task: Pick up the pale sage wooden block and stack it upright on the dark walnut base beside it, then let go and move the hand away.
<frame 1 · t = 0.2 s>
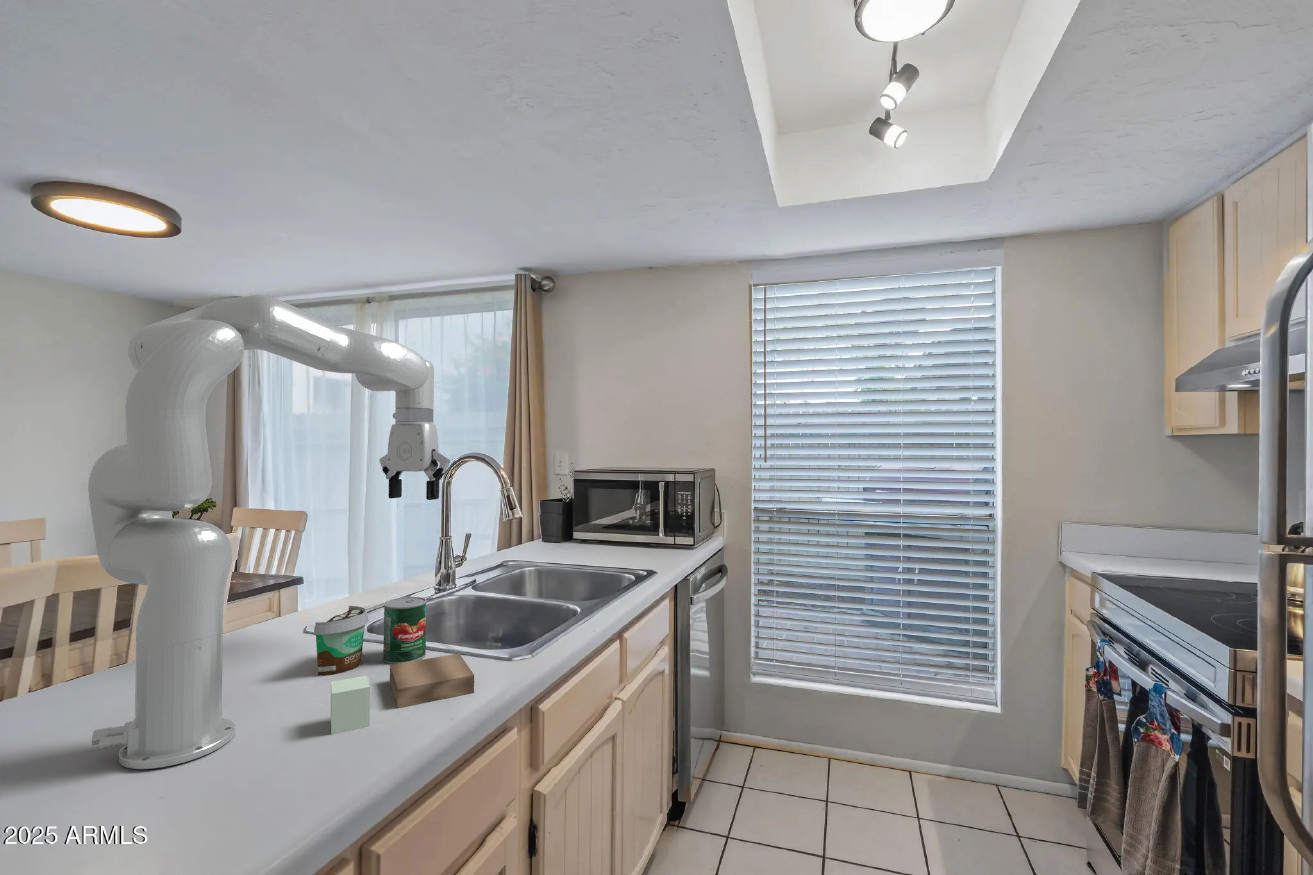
hand: (413, 498, 125), 31 cm above the counter, tool pointing down, fingers open, 9 cm apart
sage block: (349, 723, 90), on the counter
walnut base: (431, 687, 103), on the counter
food container: (348, 667, 113), on the counter
canned tomato: (404, 658, 118), on the counter
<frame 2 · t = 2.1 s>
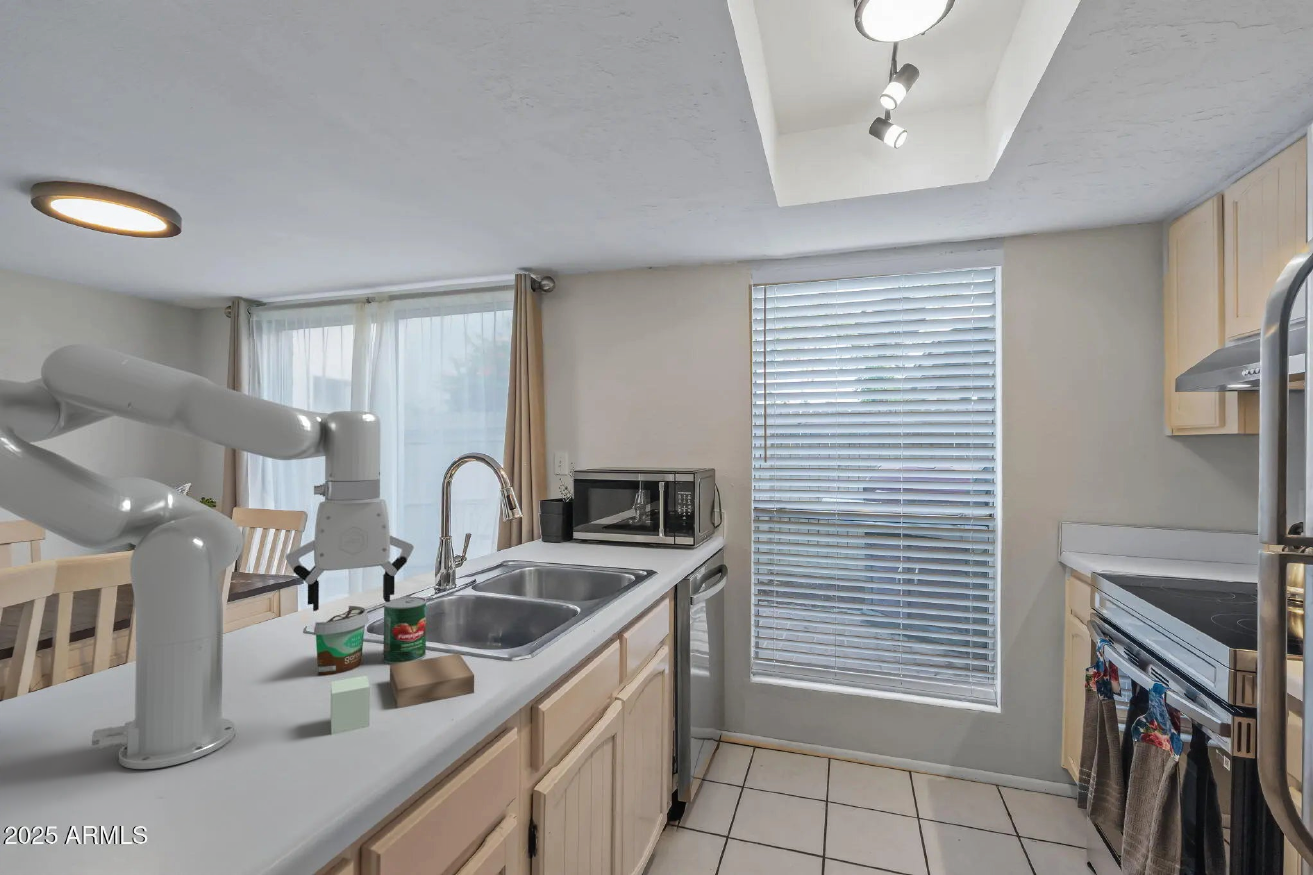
hand: (352, 604, 90), 18 cm above the counter, tool pointing down, fingers open, 9 cm apart
nothing on the counter moved.
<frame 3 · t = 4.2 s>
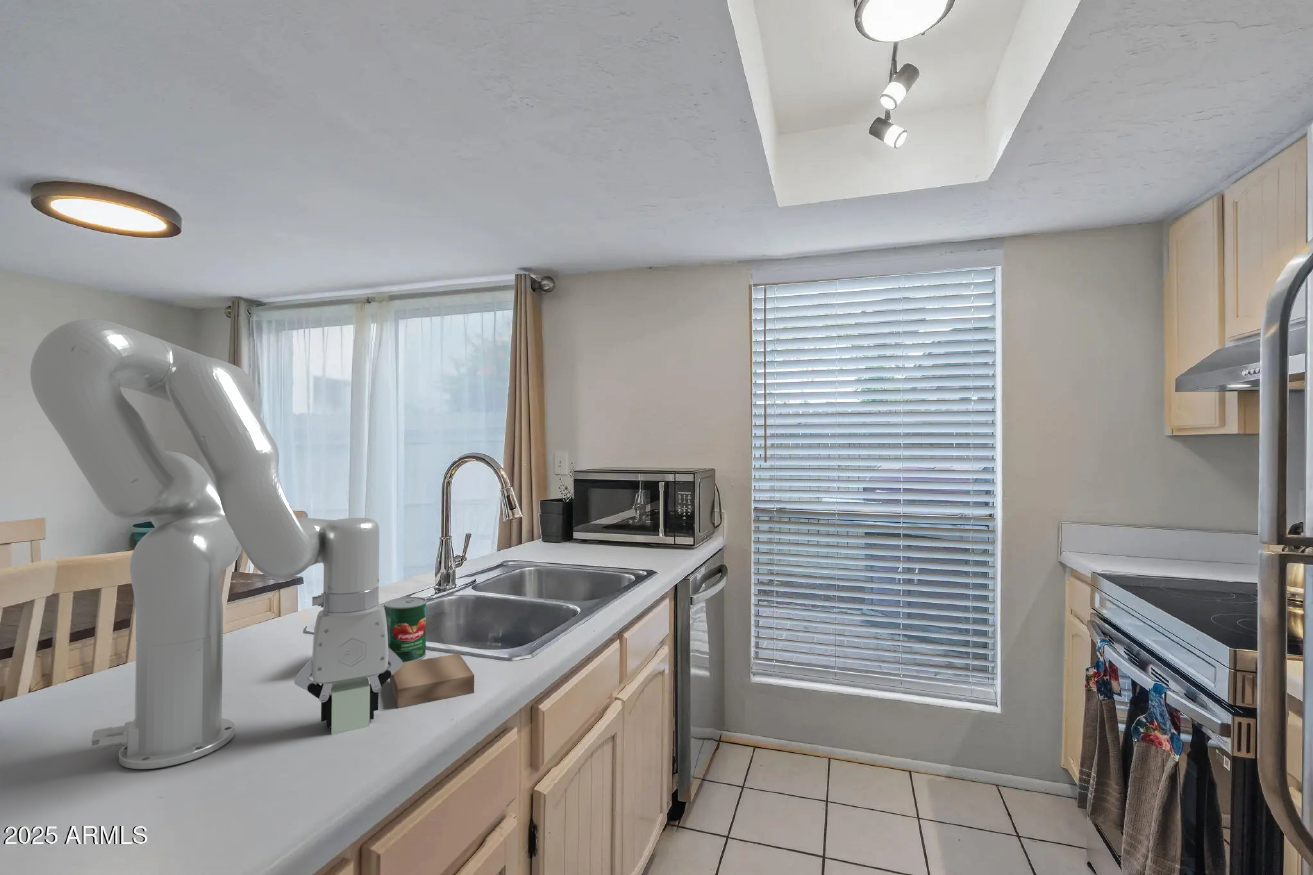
hand: (350, 718, 90), 1 cm above the counter, tool pointing down, fingers closed on sage block, 5 cm apart
sage block: (349, 723, 90), on the counter, touching gripper
everything else where it was.
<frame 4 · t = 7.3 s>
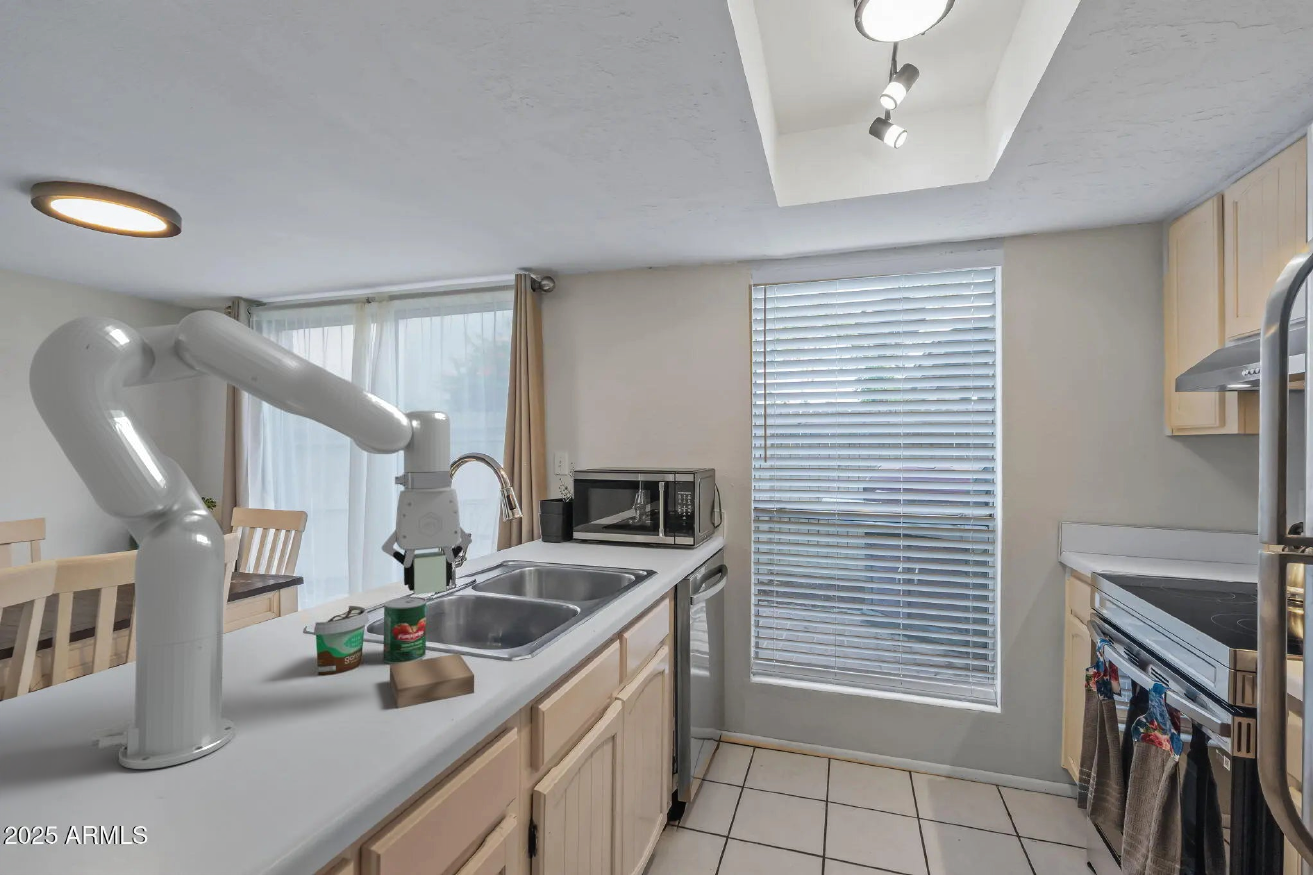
hand: (428, 585, 102), 18 cm above the counter, tool pointing down, fingers closed on sage block, 5 cm apart
sage block: (428, 589, 102), point 17 cm above the counter, touching gripper
everything else where it was.
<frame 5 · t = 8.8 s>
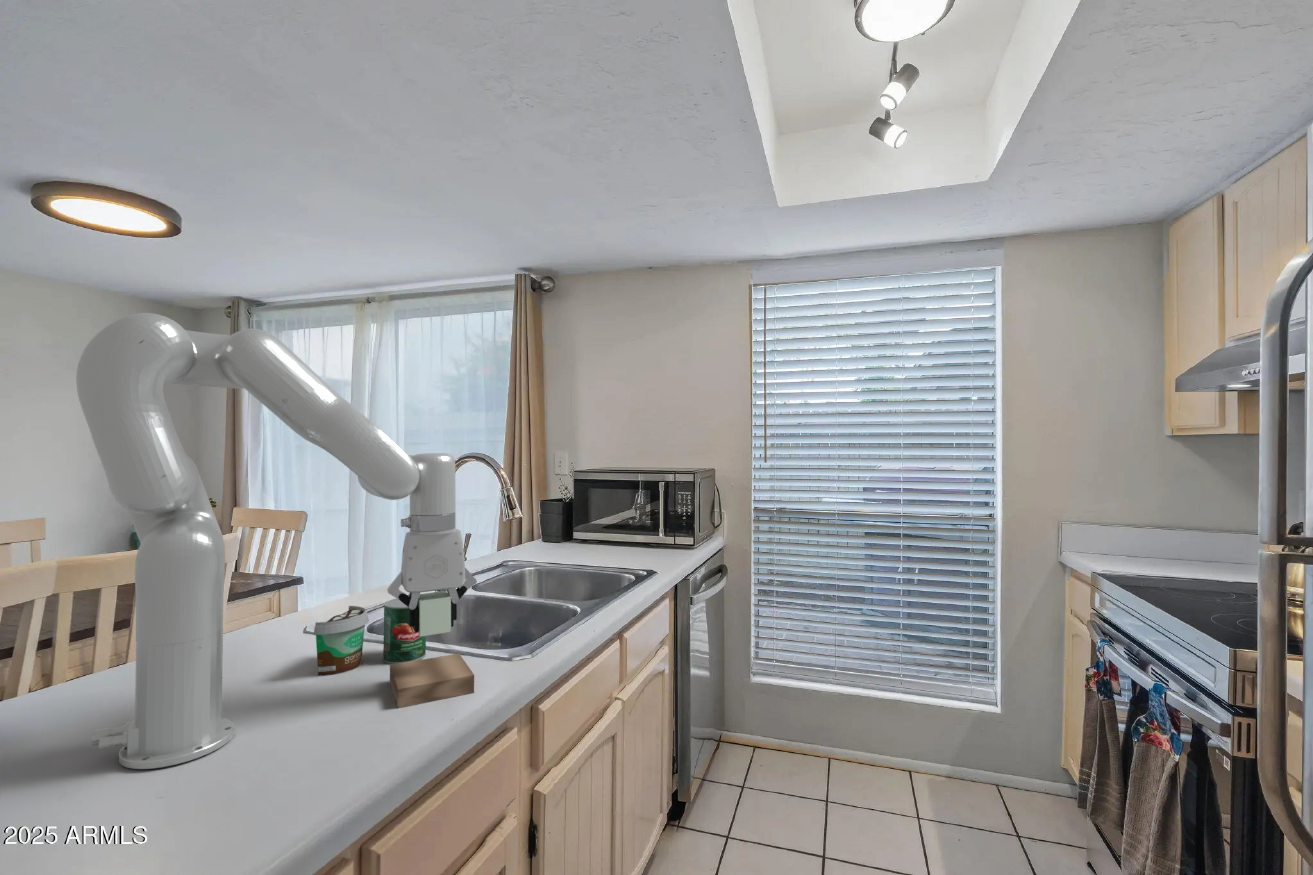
hand: (433, 626, 103), 11 cm above the counter, tool pointing down, fingers closed on sage block, 5 cm apart
sage block: (433, 630, 103), point 10 cm above the counter, touching gripper
everything else where it was.
when the fingers open (5 cm above the counter, at t = 10.2 s): sage block drops 1 cm, resting on walnut base.
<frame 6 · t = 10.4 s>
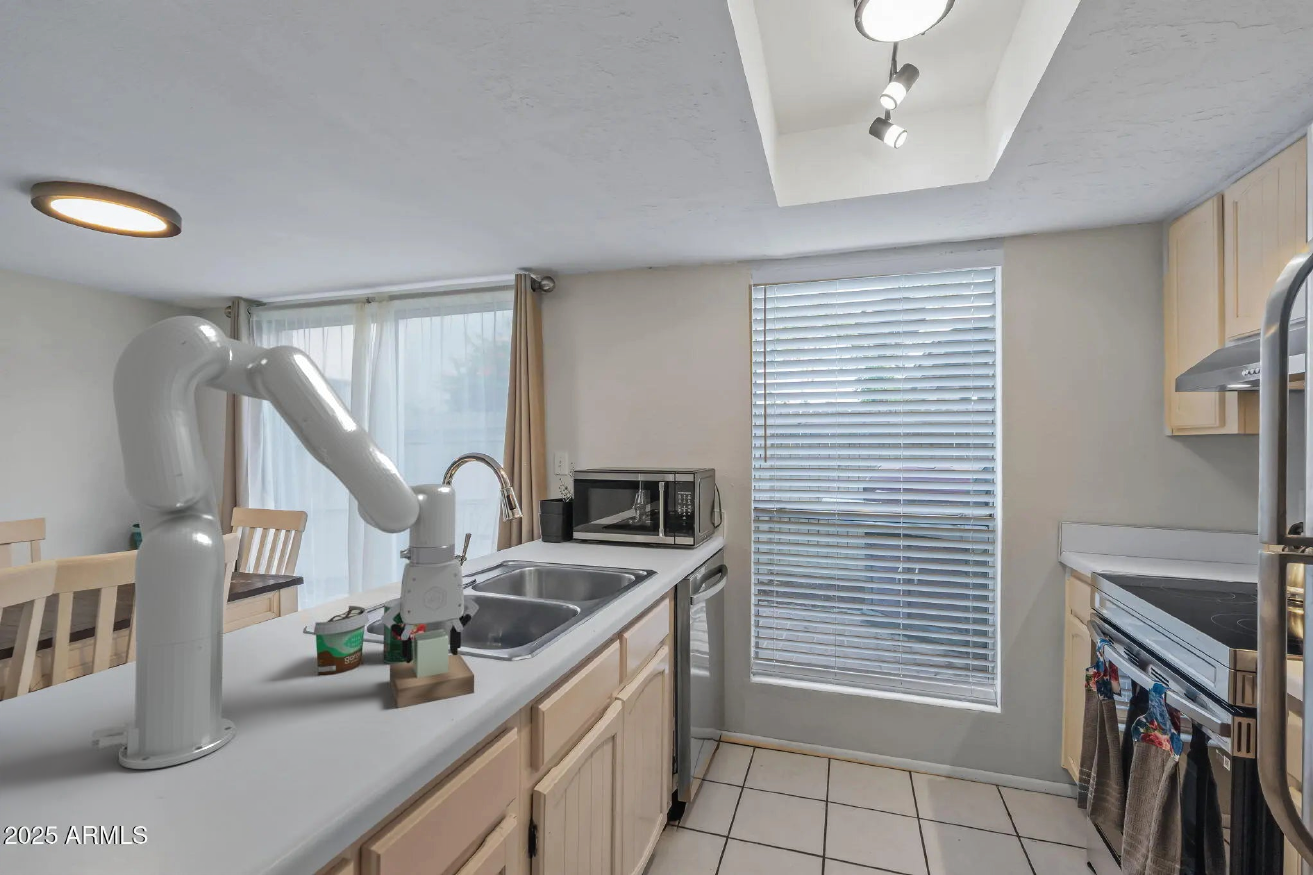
hand: (431, 655, 103), 5 cm above the counter, tool pointing down, fingers open, 7 cm apart
sage block: (430, 670, 103), point 3 cm above the counter, touching walnut base
everything else where it was.
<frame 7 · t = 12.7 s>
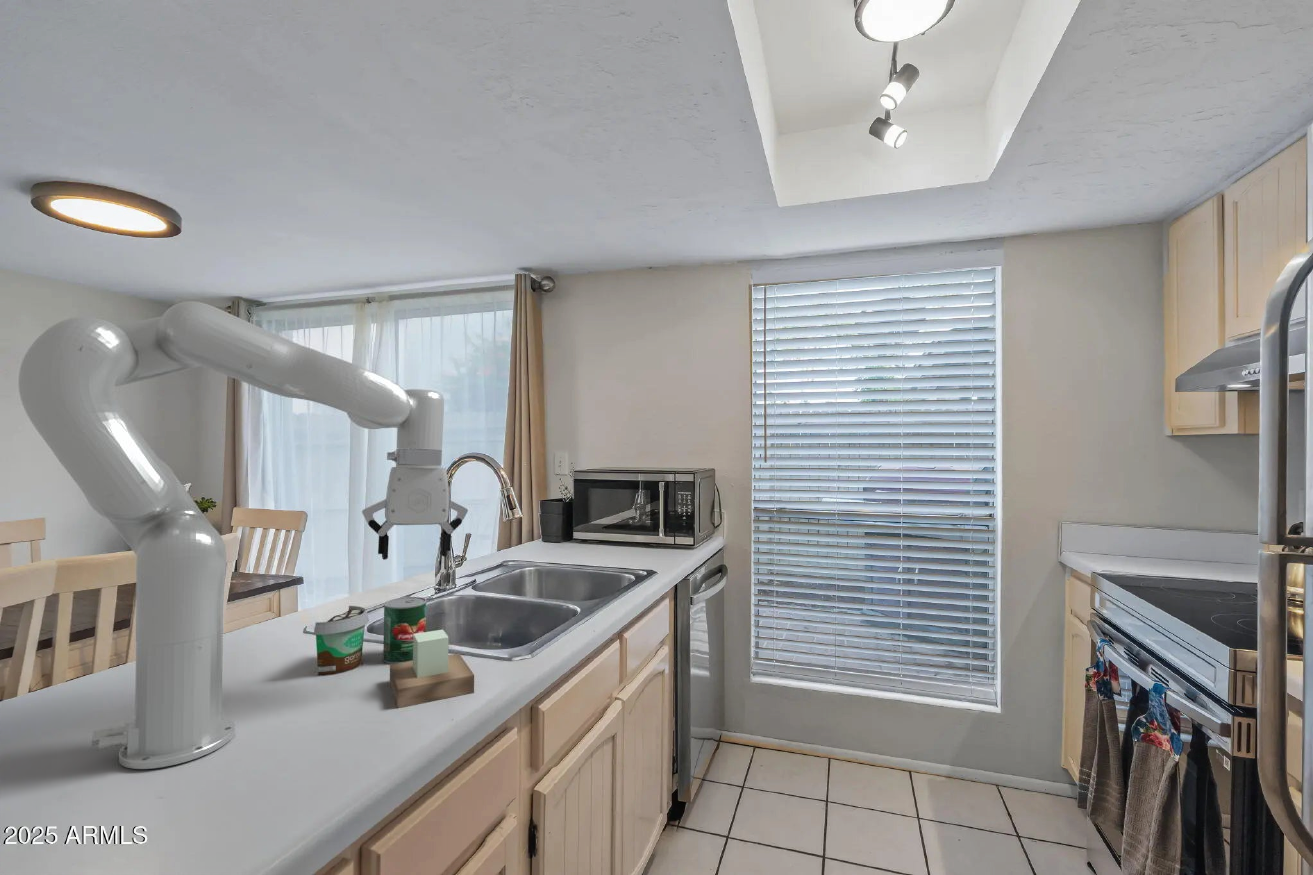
hand: (414, 556, 104), 23 cm above the counter, tool pointing down, fingers open, 9 cm apart
nothing on the counter moved.
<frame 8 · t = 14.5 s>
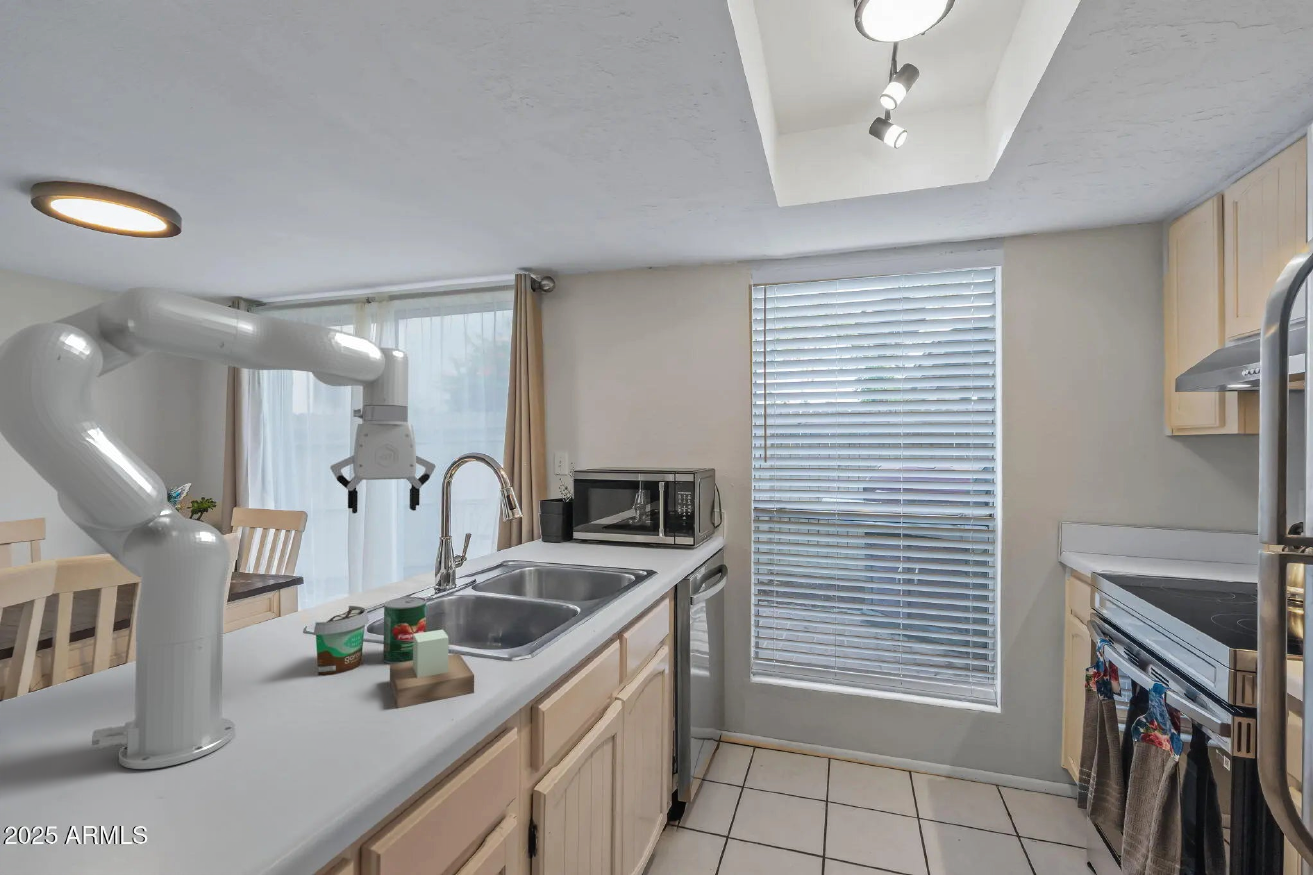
hand: (384, 511, 107), 30 cm above the counter, tool pointing down, fingers open, 9 cm apart
nothing on the counter moved.
at the end: sage block inside the target area on the walnut base (0.1 cm from its centre), point 3.0 cm above the walnut base's base; sage block tilted 0°; the gripper is holding nothing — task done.
